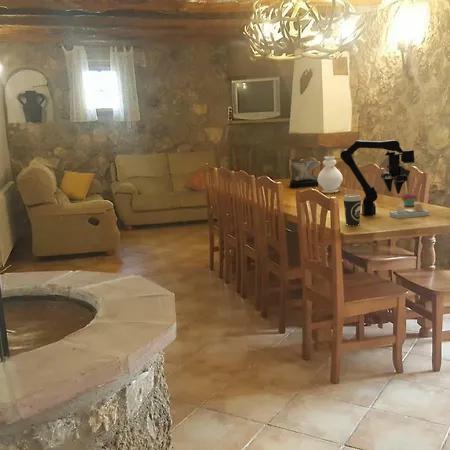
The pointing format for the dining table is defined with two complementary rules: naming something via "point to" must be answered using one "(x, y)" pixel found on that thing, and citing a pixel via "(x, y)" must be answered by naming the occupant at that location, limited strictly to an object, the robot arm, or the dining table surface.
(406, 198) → the cupcake
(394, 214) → the egg carton
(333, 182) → the decorative vase
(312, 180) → the coral
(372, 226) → the dining table surface
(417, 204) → the brown egg
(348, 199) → the coffee cup
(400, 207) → the cream egg
